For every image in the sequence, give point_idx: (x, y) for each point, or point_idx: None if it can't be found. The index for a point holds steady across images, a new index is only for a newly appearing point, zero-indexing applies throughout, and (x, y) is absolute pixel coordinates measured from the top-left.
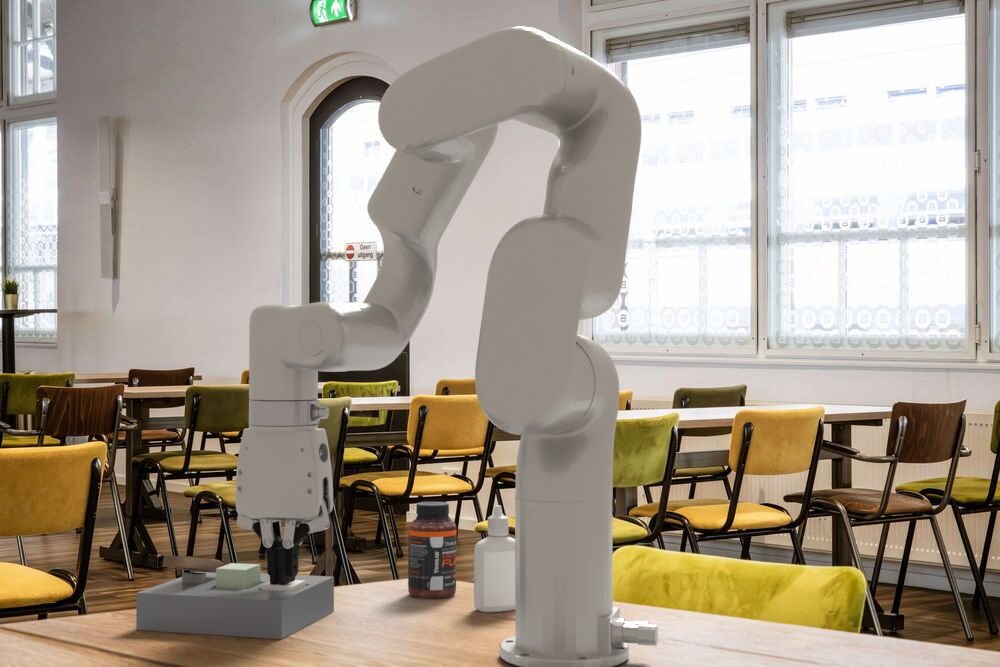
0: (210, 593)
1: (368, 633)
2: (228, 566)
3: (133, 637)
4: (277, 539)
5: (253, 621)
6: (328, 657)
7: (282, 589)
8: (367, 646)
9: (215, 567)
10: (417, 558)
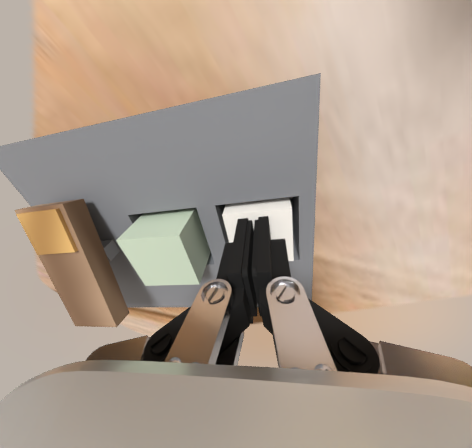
0: (191, 294)
1: (417, 212)
2: (144, 267)
3: None
4: (241, 324)
5: None
6: (382, 304)
7: None
8: (424, 266)
9: (89, 233)
10: None
